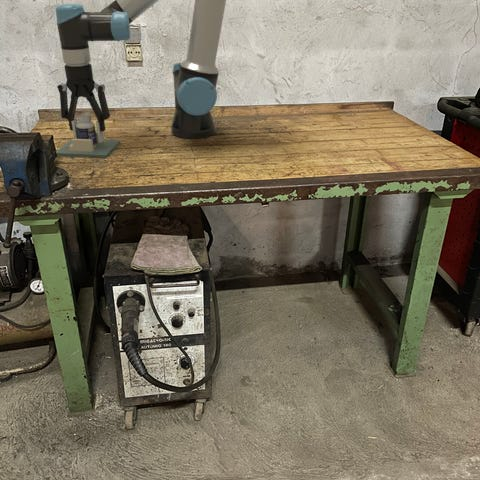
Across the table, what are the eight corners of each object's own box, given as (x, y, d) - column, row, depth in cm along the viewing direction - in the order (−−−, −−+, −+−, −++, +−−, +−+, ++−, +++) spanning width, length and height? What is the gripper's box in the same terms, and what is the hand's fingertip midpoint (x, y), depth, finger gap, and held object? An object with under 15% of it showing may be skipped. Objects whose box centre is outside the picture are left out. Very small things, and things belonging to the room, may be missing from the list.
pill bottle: (92, 149, 152) (88, 118, 148) (76, 148, 153) (71, 117, 148) (100, 144, 157) (96, 113, 152) (84, 143, 158) (79, 112, 153)
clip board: (120, 143, 161) (119, 129, 159) (106, 158, 149) (104, 143, 147) (73, 141, 162) (71, 127, 160) (54, 156, 150) (52, 141, 148)
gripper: (115, 62, 145) (124, 138, 157) (50, 60, 147) (63, 136, 158) (106, 66, 139) (116, 146, 150) (38, 65, 141) (53, 143, 152)
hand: (89, 141), depth 154 cm, fingers open, 7 cm apart
